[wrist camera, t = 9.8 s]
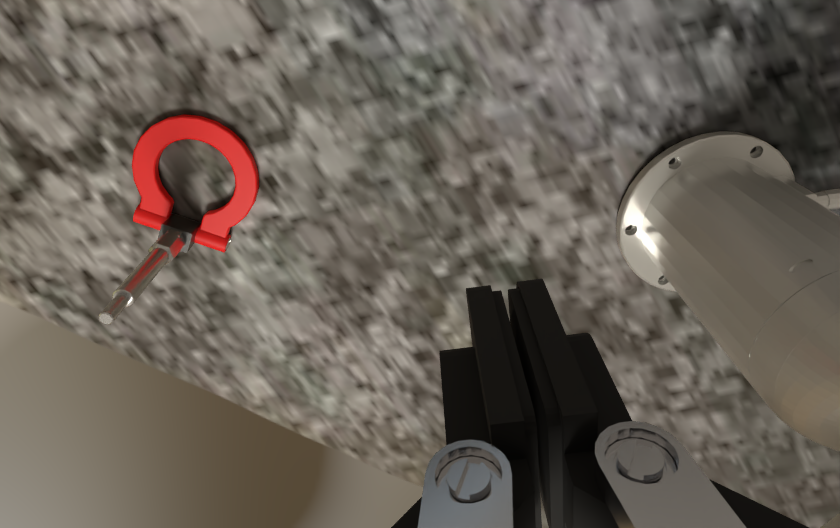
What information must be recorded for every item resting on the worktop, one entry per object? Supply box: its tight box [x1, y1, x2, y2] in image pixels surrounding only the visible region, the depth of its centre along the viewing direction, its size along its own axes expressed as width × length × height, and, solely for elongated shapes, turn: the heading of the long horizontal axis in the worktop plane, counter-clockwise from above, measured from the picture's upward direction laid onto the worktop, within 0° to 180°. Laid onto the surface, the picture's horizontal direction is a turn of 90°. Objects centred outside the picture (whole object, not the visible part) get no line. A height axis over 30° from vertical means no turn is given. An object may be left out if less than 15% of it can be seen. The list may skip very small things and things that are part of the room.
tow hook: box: [99, 114, 259, 324], centre depth 33 cm, size 8×13×9 cm
